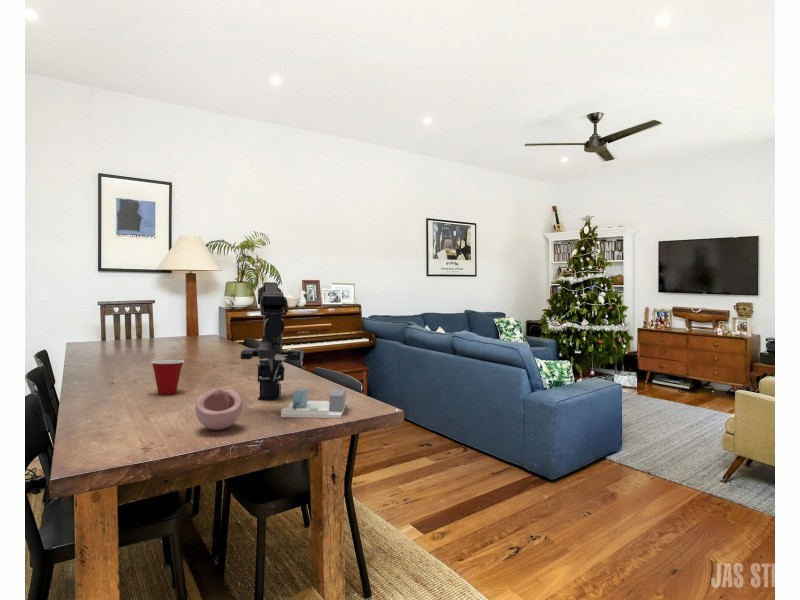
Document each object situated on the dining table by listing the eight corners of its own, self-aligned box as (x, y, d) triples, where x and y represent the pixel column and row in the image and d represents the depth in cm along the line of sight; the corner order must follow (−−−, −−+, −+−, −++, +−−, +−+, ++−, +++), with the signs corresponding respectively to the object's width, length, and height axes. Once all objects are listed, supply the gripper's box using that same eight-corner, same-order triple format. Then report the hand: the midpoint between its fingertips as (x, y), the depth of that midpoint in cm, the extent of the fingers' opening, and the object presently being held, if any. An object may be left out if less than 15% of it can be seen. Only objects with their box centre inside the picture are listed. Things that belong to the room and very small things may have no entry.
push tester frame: (281, 417, 137) (281, 397, 137) (293, 403, 153) (293, 385, 153) (340, 418, 137) (340, 398, 137) (346, 404, 153) (346, 386, 153)
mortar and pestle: (194, 438, 117) (195, 394, 117) (195, 424, 128) (195, 384, 128) (243, 432, 122) (244, 390, 122) (240, 420, 133) (240, 381, 133)
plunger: (289, 412, 137) (289, 397, 137) (298, 402, 149) (298, 388, 149) (299, 413, 137) (299, 397, 137) (307, 402, 149) (307, 388, 149)
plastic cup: (189, 390, 169) (190, 358, 169) (174, 397, 159) (174, 363, 158) (161, 389, 170) (161, 357, 169) (143, 396, 159) (144, 362, 159)
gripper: (234, 334, 137) (233, 386, 137) (296, 335, 137) (295, 387, 137) (246, 330, 148) (246, 378, 148) (304, 332, 148) (303, 379, 148)
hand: (272, 381), depth 145 cm, fingers closed
